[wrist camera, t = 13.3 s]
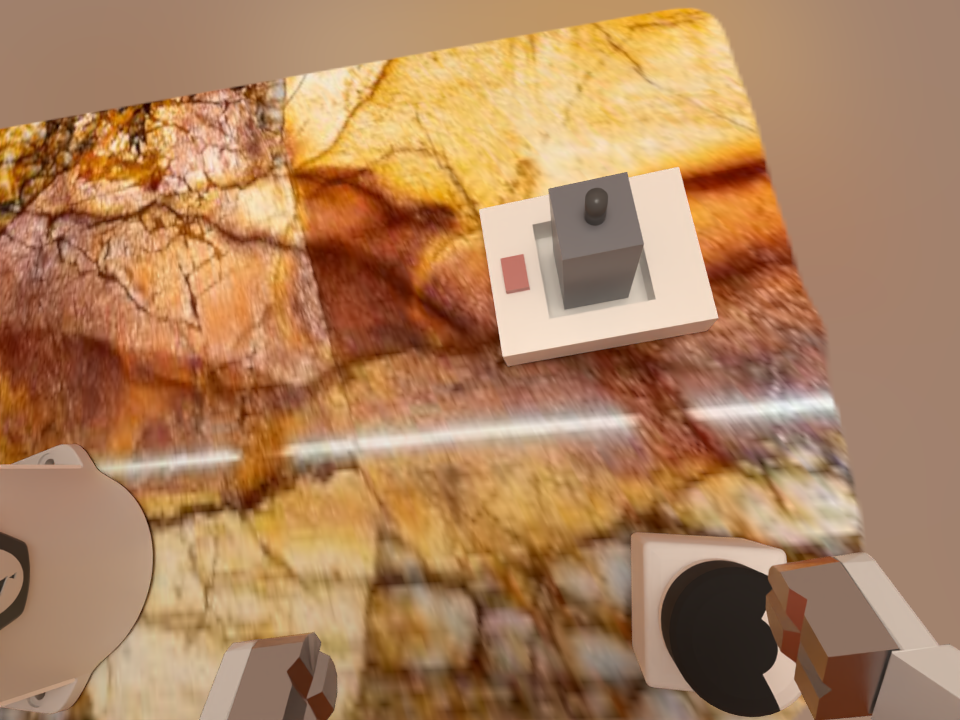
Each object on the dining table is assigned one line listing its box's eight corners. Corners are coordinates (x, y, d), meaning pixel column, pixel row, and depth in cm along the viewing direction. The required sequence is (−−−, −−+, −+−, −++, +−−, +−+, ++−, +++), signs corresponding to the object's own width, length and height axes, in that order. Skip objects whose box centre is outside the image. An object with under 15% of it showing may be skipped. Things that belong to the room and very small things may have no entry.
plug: (564, 309, 40) (562, 245, 30) (553, 252, 41) (547, 169, 31) (628, 297, 40) (648, 227, 29) (615, 239, 41) (630, 151, 30)
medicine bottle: (631, 650, 35) (660, 728, 24) (630, 531, 37) (657, 550, 25) (753, 660, 34) (846, 749, 23) (746, 537, 36) (830, 561, 24)
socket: (507, 366, 40) (501, 354, 37) (485, 228, 43) (477, 205, 40) (707, 330, 39) (720, 315, 35) (671, 189, 41) (680, 162, 38)
